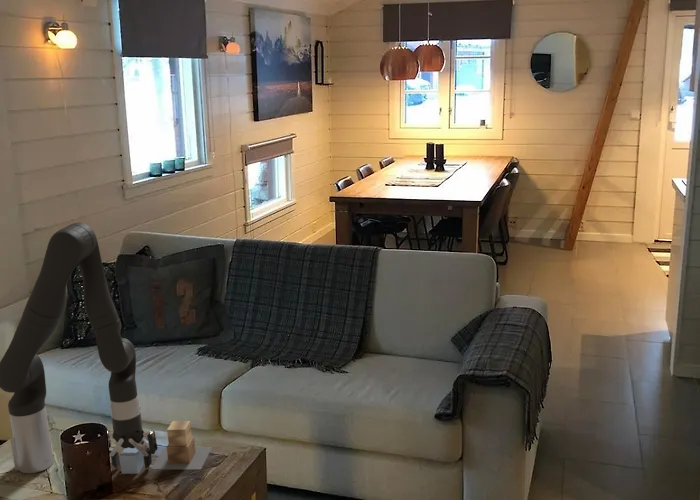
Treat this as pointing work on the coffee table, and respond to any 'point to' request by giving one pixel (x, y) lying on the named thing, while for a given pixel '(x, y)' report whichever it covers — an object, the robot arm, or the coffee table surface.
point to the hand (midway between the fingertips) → (132, 466)
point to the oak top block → (179, 433)
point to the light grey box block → (131, 461)
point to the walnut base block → (181, 452)
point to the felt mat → (195, 463)
